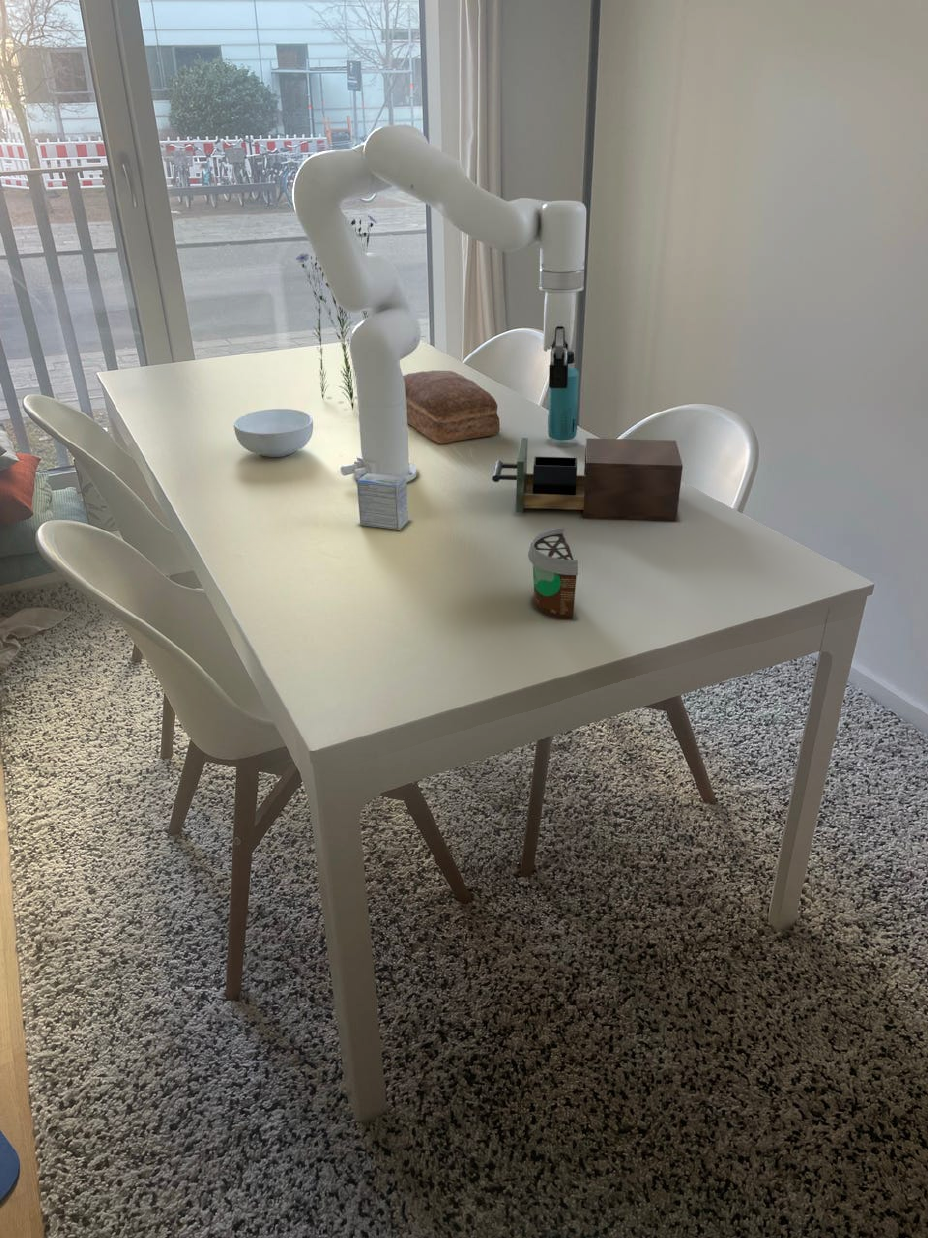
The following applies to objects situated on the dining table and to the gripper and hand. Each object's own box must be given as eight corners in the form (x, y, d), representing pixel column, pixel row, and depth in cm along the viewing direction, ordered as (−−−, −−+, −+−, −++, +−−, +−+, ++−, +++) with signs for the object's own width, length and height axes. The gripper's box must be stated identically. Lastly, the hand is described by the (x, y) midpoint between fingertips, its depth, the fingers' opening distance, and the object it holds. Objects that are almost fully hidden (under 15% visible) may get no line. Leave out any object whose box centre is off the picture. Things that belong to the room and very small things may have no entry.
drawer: (490, 511, 167) (490, 460, 162) (496, 485, 179) (496, 437, 174) (608, 515, 165) (612, 464, 160) (606, 488, 176) (610, 440, 171)
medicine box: (409, 521, 165) (407, 476, 161) (399, 531, 161) (397, 485, 157) (369, 516, 167) (366, 472, 163) (359, 525, 163) (356, 480, 159)
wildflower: (311, 393, 239) (293, 206, 217) (397, 389, 241) (388, 204, 219) (307, 418, 220) (287, 217, 197) (401, 414, 222) (392, 214, 199)
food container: (521, 586, 142) (522, 528, 137) (560, 584, 143) (562, 526, 138) (533, 625, 132) (535, 563, 127) (574, 623, 132) (578, 561, 127)
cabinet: (583, 518, 166) (586, 462, 160) (583, 490, 177) (586, 438, 172) (676, 521, 164) (682, 465, 159) (670, 493, 176) (675, 440, 170)
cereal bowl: (222, 459, 195) (217, 427, 192) (264, 435, 209) (261, 405, 205) (290, 468, 190) (286, 435, 186) (329, 444, 203) (326, 413, 199)
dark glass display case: (532, 498, 169) (533, 465, 166) (533, 488, 174) (534, 456, 170) (575, 500, 169) (577, 466, 165) (575, 490, 173) (577, 457, 170)
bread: (449, 403, 230) (448, 357, 224) (503, 436, 207) (504, 386, 201) (387, 412, 223) (384, 365, 218) (435, 447, 200) (434, 396, 195)
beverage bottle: (575, 447, 199) (579, 355, 189) (545, 446, 200) (548, 354, 190) (577, 438, 205) (582, 348, 195) (548, 436, 206) (551, 347, 196)
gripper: (541, 272, 162) (539, 368, 171) (537, 289, 147) (536, 393, 156) (583, 272, 162) (579, 368, 170) (584, 289, 147) (579, 393, 155)
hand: (558, 380), depth 163 cm, fingers open, 9 cm apart
